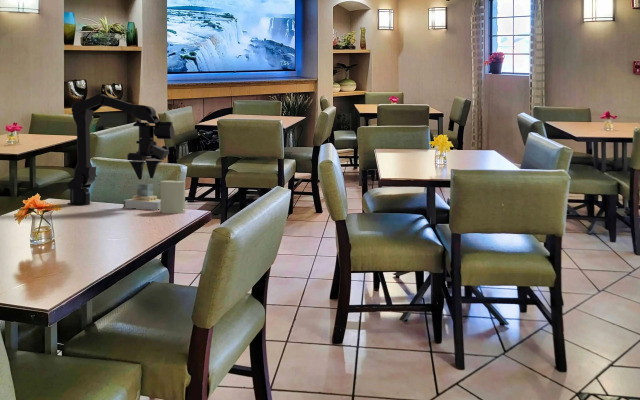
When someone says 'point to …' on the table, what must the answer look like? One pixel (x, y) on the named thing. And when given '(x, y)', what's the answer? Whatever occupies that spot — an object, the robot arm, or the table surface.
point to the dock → (142, 204)
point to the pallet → (145, 192)
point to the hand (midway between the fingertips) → (145, 178)
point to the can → (172, 197)
